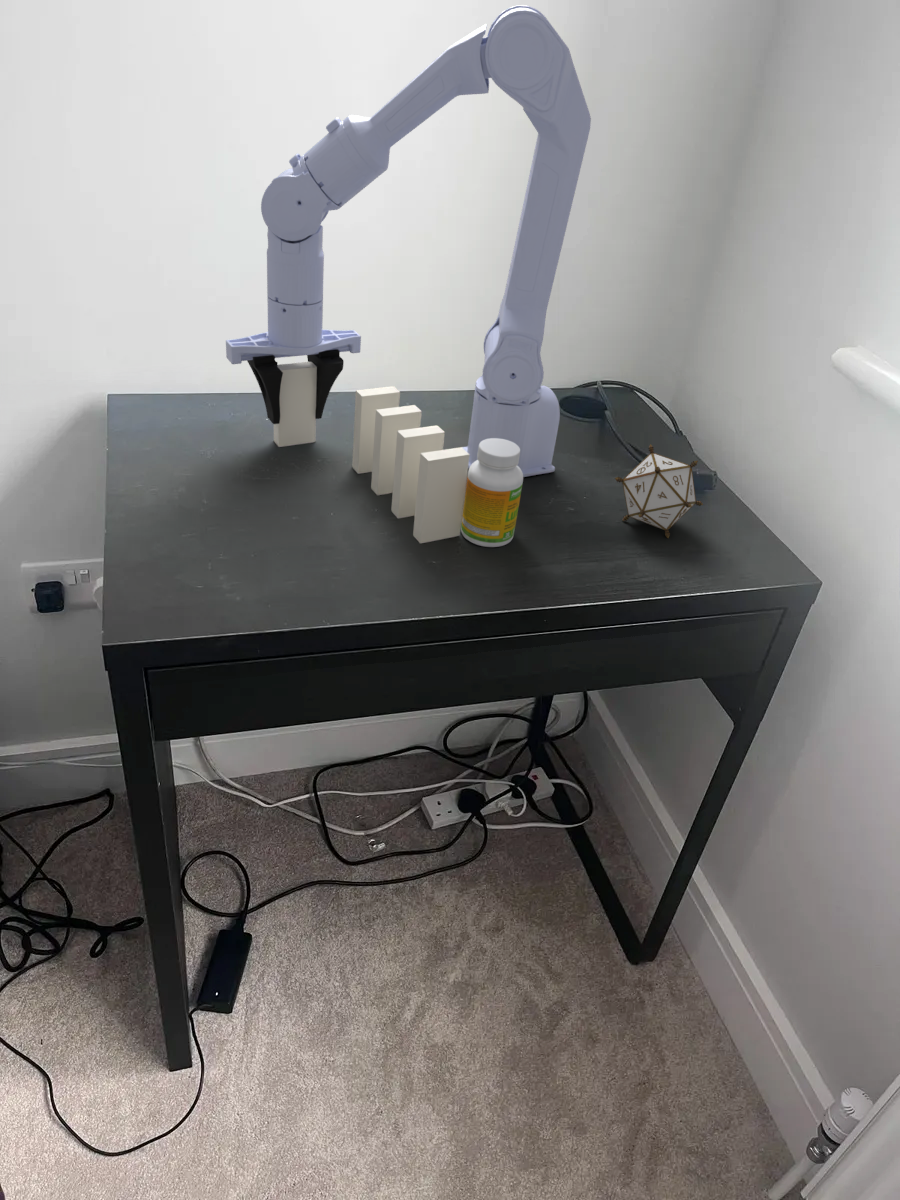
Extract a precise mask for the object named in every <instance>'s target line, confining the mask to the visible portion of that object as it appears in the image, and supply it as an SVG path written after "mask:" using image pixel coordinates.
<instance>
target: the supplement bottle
mask: <svg viewBox="0 0 900 1200" xmlns="http://www.w3.org/2000/svg"><path fill="white" fill-rule="evenodd" d="M519 457H520V448H519V447H518V445H516V444H515V443H513V442H511V441H508V440H505V439H499V438H490V439H485V440H483V441H481V442H480V444H479V447H478V453H477V459H478V460H476V461H475V462H473V463H472V464H471V466H470V468H468V472H467V480H466V487H465V495H464V503H463V511H462V519H461V527H460V533H461V535H462V536H463V538H465V539H466V540H467V541H469V542H470V543H472V544H474V545H476V546H481V547H484V548H485V547H486V548H498V547H503V546H505V545H508V544H509V543H511V541H512V540H513V538H514V535H515V529H516V526H517V525H516V524H517V519H518V513H519V512H518V511H519V506H520V501H521V495H522V489H523V484H524V483H523V482H524V477H523V473H522V471H521V469H520V468H519V467H518V466H517V465H518V463H519Z"/></svg>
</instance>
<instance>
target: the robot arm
mask: <svg viewBox="0 0 900 1200" xmlns="http://www.w3.org/2000/svg"><path fill="white" fill-rule="evenodd" d="M491 23H492V24H490V28H489V30H488V33H487V35H486V31H487V26H488V24H487V23H485V24H483V25H482V26H480V27H478V28H476V29H474V30H473V31H472V32H470V33H469V34H467V35H465V36H464V37H462V38H461V39H459V40H457V41H456V42H454V43H453V44H451V45H450V46H448V47H447V48H446V49H445V50H444V51H443V52H441V54H440V55H438V56H437V57H436V58H435V59H434V60H433V61H432V62H431V63H430V64H429V65H427V66H426V67H425V68H424V69H422V70H421V72H419V73H418V74H417V75H416V76H415V77H414V78H413V79H412V80H410V81H409V82H408V83H407V84H406V85H405V86H404V87H403V88H402V89H401V90H400V91H399V92H397V93H396V94H395V95H394V96H393V97H392V98H390V99H389V101H387V102H386V103H385V104H384V105H383V106H382V107H381V108H379V110H378V111H376V112H375V113H374V114H373V115H372V116H361V115H358V114H357V115H356V114H348V116H347V117H345V118H344V119H343V120H341V119H340V117H338V116H337V117H335V118H334V119H332V121H330V122H329V123H328V124H327V125H326V126H325V129H326V131H327V132H328V133H327V134H326V135H325V136H323V137H322V138H321V139H320V140H319V141H318V142H316V143H315V144H314V145H313V146H312V147H311V148H310V149H308V150H307V151H306V152H305V153H304V154H303V155H301V154H300V153H298V152H297V153H296V154H295V155H293V156H292V157H291V158H290V159H289V161H288V162H289V164H290V166H291V168H288V169H285V170H284V171H282V172H281V173H280V174H279V175H278V176H277V177H275V178H273V179H272V181H271V182H270V184H269V185H268V186H267V187H266V189H265V191H264V193H263V195H262V198H261V204H260V210H261V215H262V219H263V222H264V223H265V225H266V226H267V248H266V281H267V282H266V285H267V287H266V289H267V291H266V293H267V294H266V295H267V297H266V298H267V299H266V300H267V331H265V332H261V333H257V334H252V335H249V336H245V337H240V338H235V339H234V338H233V339H226V340H225V351H226V352H225V355H226V357H225V358H226V359H227V360H228V361H229V363H231V365H241V364H242V363H243V362H245V361H247V363H248V365H249V367H250V370H251V371H252V373H253V375H254V377H255V379H256V382H257V384H258V386H259V389H260V392H261V395H262V398H263V401H264V405H265V410H266V417H267V419H268V420H269V422H271V424H272V425H274V424H279V423H280V387H281V380H282V375H283V372H282V371H281V370H280V369H279V368H278V367H277V365H278V361H276V359H279V358H291V357H298V356H299V357H300V356H306V357H307V362H312V363H313V364H314V365H315V366H316V367H317V384H316V417H315V418H316V420H320V419H322V417H323V413H324V409H325V405H326V404H327V403H326V402H327V401H328V397H329V394H330V392H331V389H332V387H333V385H334V383H335V382H336V380H337V378H338V377H339V375H340V374H341V372H343V369H344V359H343V358H342V357H341V356H340V353H346V352H349V353H350V354H360V353H361V346H362V345H361V343H362V342H361V341H362V336H361V335H360V334H359V333H358V332H357V331H356V330H355V329H349V330H347V329H345V330H344V329H343V330H337V329H324V328H323V317H324V315H323V312H324V309H323V308H324V271H325V268H324V267H325V266H324V265H325V264H324V263H325V253H324V251H323V242H324V241H323V240H324V239H323V238H324V237H323V236H324V235H323V233H324V232H323V231H324V230H323V229H324V226H323V225H322V222H324V220H325V218H327V215H328V214H329V212H331V211H337V210H339V209H341V208H342V207H343V206H345V205H346V204H347V203H349V201H350V200H352V199H353V198H354V197H356V196H357V195H358V194H359V193H360V192H362V191H363V190H364V189H365V188H366V187H368V186H369V185H370V184H371V183H372V182H374V181H375V180H376V179H377V178H379V176H381V175H383V173H385V172H386V171H387V170H388V169H389V165H390V164H389V163H390V152H391V148H392V147H393V146H394V145H396V144H397V143H398V142H400V141H401V140H402V139H404V138H405V136H407V135H408V134H409V133H412V131H413V130H415V129H416V128H417V127H419V126H420V125H422V123H424V122H426V121H427V119H429V118H431V117H432V116H433V115H434V114H435V113H437V112H438V111H440V110H441V109H442V108H444V107H445V106H446V105H448V104H449V103H450V102H451V101H452V100H454V99H455V98H457V97H459V96H469V95H482V94H483V95H484V94H489V91H490V90H489V89H490V79H491V80H492V81H493V82H494V84H495V85H496V86H497V87H498V88H499V89H500V90H502V91H503V92H504V93H505V94H506V95H507V96H509V97H510V98H511V99H512V100H514V101H515V102H517V104H518V105H520V106H521V107H522V108H523V109H522V110H523V112H524V114H525V115H526V116H527V118H528V120H529V121H530V123H531V125H532V126H533V127H534V130H535V131H536V132H537V137H536V142H535V147H534V151H533V156H532V161H531V167H530V170H529V175H528V179H527V184H526V189H525V194H524V199H523V202H522V209H521V214H520V218H519V223H518V228H517V232H516V237H515V241H514V245H513V251H512V257H511V262H510V264H509V265H510V266H509V269H508V276H507V280H506V284H505V289H504V294H503V298H502V299H501V302H500V306H499V310H498V315H497V317H496V319H495V321H494V323H493V324H492V325H491V326H490V328H489V329H488V330H487V332H486V333H485V337H484V339H483V353H484V364H483V367H482V374H481V376H479V377H478V378H477V379H476V381H475V387H474V395H473V400H472V401H473V403H472V410H471V418H470V419H471V420H470V427H469V433H468V442H467V446H461V447H462V448H463V449H464V450H465V451H466V452H467V453H469V454H470V456H469V464H468V469H469V468H470V466H471V464H472V463H473V462H475V461H476V460H478V459H477V453H478V447H479V444H480V442H481V441H483V440H485V439H490V438H499V439H505V440H508V441H511V442H513V443H515V444H516V445H518V447H519V448H520V457H519V463H518V465H517V466H518V467H519V468H520V469H521V471H522V473H523V478H525V477H531V476H536V475H542V474H549V473H553V472H555V470H556V467H555V466H554V465H553V464H552V463H553V458H554V457H553V456H554V452H555V447H556V442H557V441H556V440H557V436H558V432H559V431H558V430H559V426H560V417H561V416H560V415H561V413H560V412H561V411H560V404H559V400H558V398H557V395H556V394H555V392H554V391H553V390H552V389H551V388H550V387H549V386H546V385H542V384H543V380H544V372H545V371H544V365H543V362H542V356H541V351H542V346H543V342H544V335H545V334H544V333H545V326H546V316H547V310H548V306H549V302H550V298H551V293H552V289H553V284H554V281H555V278H556V277H555V276H556V272H557V268H558V264H559V260H560V256H561V252H562V247H563V243H564V239H565V236H566V235H565V234H566V232H567V231H566V230H567V228H568V227H567V226H568V222H569V218H570V215H571V210H572V206H573V202H574V197H575V194H576V189H577V185H578V180H579V176H580V172H581V168H582V164H583V161H584V156H585V152H586V149H587V148H586V147H587V142H588V140H589V135H590V131H591V124H592V123H591V122H592V118H591V113H590V110H589V106H588V105H587V104H588V103H587V101H586V98H585V95H584V92H583V89H582V86H581V83H580V80H579V77H578V73H577V70H576V68H575V65H574V61H573V58H572V54H571V52H570V51H571V50H570V49H569V47H568V45H567V44H566V42H565V41H564V40H563V39H562V37H561V36H560V34H559V33H558V32H557V30H556V29H555V28H554V26H553V25H552V24H551V22H550V21H549V20H548V18H547V17H546V16H545V14H543V13H542V12H541V11H539V10H538V9H537V8H535V7H532V6H530V5H525V4H521V5H520V4H518V5H514V6H511V7H508V8H507V9H504V10H503V11H502V12H501V13H499V14H498V15H497V16H496V17H495V19H494V20H493V22H491ZM485 35H486V37H484V36H485Z"/></svg>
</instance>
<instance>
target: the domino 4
mask: <svg viewBox="0 0 900 1200" xmlns="http://www.w3.org/2000/svg"><path fill="white" fill-rule="evenodd" d="M445 433H446V432H445V431H444V430H443V429H442V428H441V427H440V426H439V425H430V426H429V425H428V426H423V427H422V426H420V428H414V429H406V430H399V431H397V442H396V455H395V468H394V482H393V493H392V497H391V508H390V509H391V510H390V511H391V512H392V513H393V515H394V516H395V517H396V518H397V519H403V518H408V517H415V508H416V497H417V486H418V475H419V465H420V454H421V453H426V452H432V451H439V450H444V443H445V435H446V434H445Z"/></svg>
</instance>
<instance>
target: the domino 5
mask: <svg viewBox="0 0 900 1200" xmlns="http://www.w3.org/2000/svg"><path fill="white" fill-rule="evenodd" d="M462 447H463V446H460V447H454V448H453V447H452V448H445V449H443V450H439V451H432V452H426V453H421V454H420V465H419V475H418V486H417V497H416V508H415V516H414V522H413V532H412V536H413V537H414V539H416V540H417V541H418V543H419V544H424V543H430V542H434V541H440V540H444V539H445V540H446V539H449V538H455V537H459V536H460V533H461V523H462V515H463V508H464V500H465V492H466V485H467V477H468V471H469V468H468V464H469V456H470V454H469V453H467V452H466V451H465V450H464V449H463V448H462Z"/></svg>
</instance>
